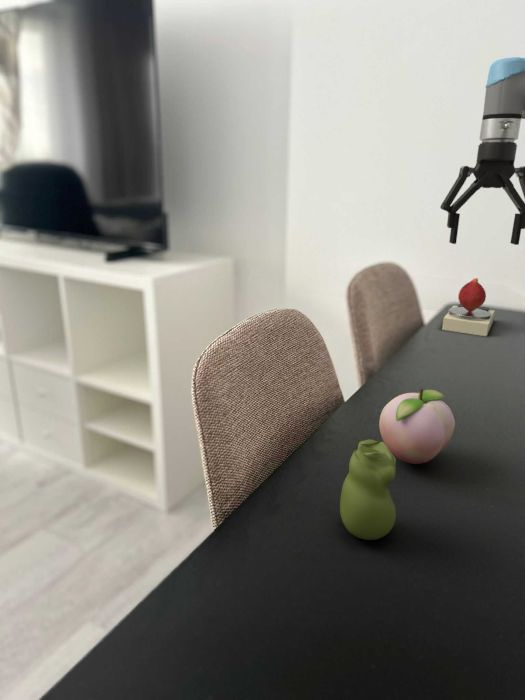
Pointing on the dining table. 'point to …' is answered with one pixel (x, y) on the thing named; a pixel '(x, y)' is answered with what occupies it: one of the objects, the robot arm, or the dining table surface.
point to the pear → (369, 491)
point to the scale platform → (469, 314)
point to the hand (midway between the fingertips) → (483, 243)
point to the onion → (472, 295)
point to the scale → (468, 323)
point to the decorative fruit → (416, 426)
